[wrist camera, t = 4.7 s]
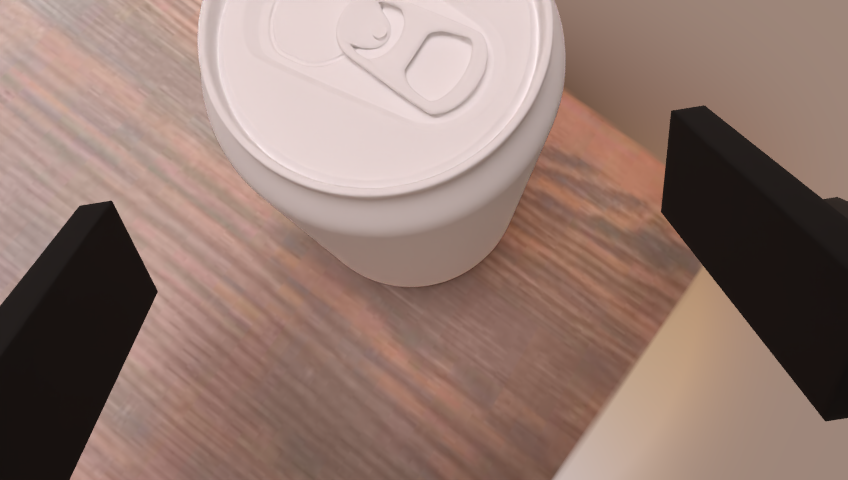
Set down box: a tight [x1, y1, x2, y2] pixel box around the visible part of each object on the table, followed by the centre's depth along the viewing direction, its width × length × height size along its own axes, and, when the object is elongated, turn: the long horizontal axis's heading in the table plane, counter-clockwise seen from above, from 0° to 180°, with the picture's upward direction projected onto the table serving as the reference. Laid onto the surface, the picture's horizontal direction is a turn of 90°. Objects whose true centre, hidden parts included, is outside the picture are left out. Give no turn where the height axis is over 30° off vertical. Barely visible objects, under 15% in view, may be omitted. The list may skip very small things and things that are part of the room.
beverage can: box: [198, 0, 566, 287], centre depth 18 cm, size 8×8×12 cm
